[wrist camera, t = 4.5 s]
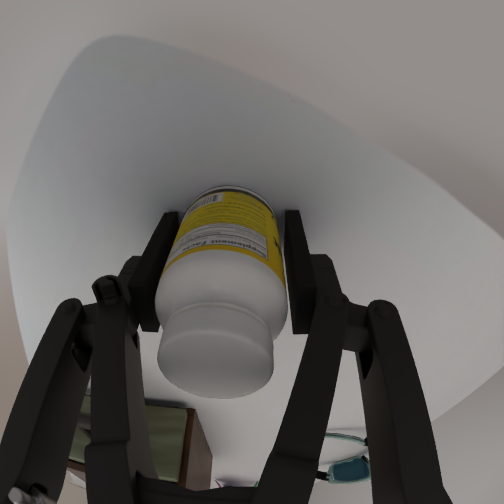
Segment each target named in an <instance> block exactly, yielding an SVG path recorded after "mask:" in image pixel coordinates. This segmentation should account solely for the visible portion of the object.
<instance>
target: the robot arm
mask: <svg viewBox="0 0 504 504" xmlns="http://www.w3.org/2000/svg"><path fill="white" fill-rule="evenodd" d="M178 230H179V221H178V214H177V212H165V213H164V214H163V216H162V218H161V220H160V222H159V224H158V226H157V228H156V229H155V231H154V233H153V235H152V237H151V239H150V241H149V243H148V245H147V247H146V249H145V251H144V253H143V255H142V256H132V257H131V258H130V259H129V260H127V261H126V262H125V264H124V266H123V268H122V270H121V272H120V275H118V277H117V276H114V275H106V276H103V277H100V278H99V279H97V280H96V281H95V282H94V283H93V285H92V289H93V292H94V295H95V297H96V300H97V303H93V304H88V305H82V303H81V301H80V300H79V299H76V298H71V299H67V300H65V301H63V302H62V303H61V304H60V305H59V306H58V307H57V309H56V311H55V313H54V315H53V317H52V319H51V321H50V323H49V325H48V327H47V329H46V331H45V333H44V335H43V337H42V339H41V341H40V343H39V346H38V348H37V350H36V352H35V354H34V357H33V359H32V361H31V363H30V366H29V368H28V370H27V373H26V375H25V377H24V380H23V382H22V385H21V387H20V390H19V392H18V395H17V397H16V400H15V403H14V405H13V408H12V411H11V413H10V416H9V419H8V422H7V425H6V428H5V431H4V434H3V437H2V441H1V444H0V504H57V501H58V499H59V496H60V493H61V490H62V487H63V483H64V479H65V475H66V470H67V465H68V460H69V456H70V451H71V447H72V442H73V438H74V434H75V430H76V426H77V422H78V418H79V414H80V411H81V407H82V403H83V400H84V396H85V393H86V389H87V386H88V383H89V379H90V376H91V401H90V421H91V442H90V444H88V445H86V446H85V449H84V464H85V479H86V491H87V500H88V504H308V502H309V498H310V495H311V492H312V488H313V485H314V481H315V478H316V474H317V470H318V466H319V457H320V453H321V449H322V445H323V441H324V437H325V433H326V429H327V424H328V420H329V416H330V411H331V407H332V402H333V397H334V392H335V387H336V382H337V377H338V372H339V366H340V361H341V355H342V349H344V350H349V351H354V352H355V355H356V361H357V367H358V373H359V380H360V386H361V393H362V400H363V407H364V415H365V423H366V431H367V440H368V450H369V459H370V471H371V483H372V497H373V504H453V503H452V501H451V499H450V498H449V496H448V494H447V492H446V491H445V489H444V487H443V483H442V477H441V472H440V466H439V461H438V455H437V450H436V445H435V441H434V436H433V431H432V426H431V422H430V418H429V414H428V410H427V406H426V402H425V398H424V394H423V390H422V387H421V383H420V379H419V376H418V372H417V369H416V365H415V362H414V359H413V355H412V352H411V349H410V346H409V343H408V339H407V336H406V333H405V330H404V327H403V324H402V321H401V318H400V316H399V313H398V310H397V308H396V307H395V305H393V304H392V303H391V302H388V301H386V300H374V301H372V302H370V304H369V305H368V307H366V306H361V305H357V304H354V303H352V302H350V301H349V299H348V298H347V296H346V295H344V294H343V293H342V291H341V288H340V284H339V281H338V278H337V275H336V271H335V268H334V265H333V262H332V260H331V259H330V258H329V257H328V256H327V255H326V254H310V253H309V249H308V245H307V240H306V236H305V232H304V228H303V224H302V220H301V216H300V212H299V210H285V235H284V258H285V266H286V274H287V283H288V292H289V301H290V310H291V320H292V329H293V334H308V338H307V341H306V345H305V349H304V352H303V356H302V359H301V363H300V366H299V369H298V373H297V376H296V379H295V383H294V386H293V389H292V392H291V396H290V399H289V402H288V405H287V408H286V411H285V414H284V417H283V420H282V423H281V426H280V429H279V432H278V435H277V438H276V441H275V444H274V447H273V449H272V451H271V453H270V455H269V457H268V459H267V462H266V465H265V467H264V470H263V473H262V475H261V478H260V481H259V483H258V486H257V487H235V486H226V487H221V488H215V489H208V490H201V491H194V490H190V489H187V488H185V487H182V486H179V485H176V484H174V483H171V482H168V481H166V480H160V479H159V477H158V474H157V472H156V470H155V467H154V463H153V457H152V451H151V445H150V438H149V431H148V424H147V416H146V408H145V400H144V390H143V380H142V369H141V356H140V340H139V335H138V332H137V329H138V326H139V323H140V326H141V329H142V331H143V332H158V330H159V327H160V323H159V320H158V317H157V314H156V309H155V296H156V291H157V288H158V285H159V281H160V278H161V275H162V272H163V270H164V267H165V264H166V262H167V259H168V256H169V254H170V251H171V249H172V246H173V243H174V241H175V238H176V235H177V233H178Z"/></svg>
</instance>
